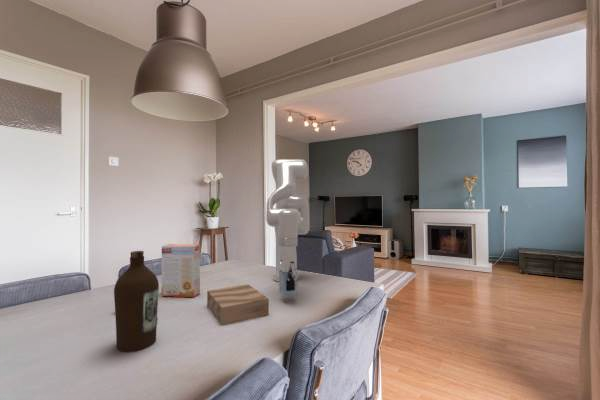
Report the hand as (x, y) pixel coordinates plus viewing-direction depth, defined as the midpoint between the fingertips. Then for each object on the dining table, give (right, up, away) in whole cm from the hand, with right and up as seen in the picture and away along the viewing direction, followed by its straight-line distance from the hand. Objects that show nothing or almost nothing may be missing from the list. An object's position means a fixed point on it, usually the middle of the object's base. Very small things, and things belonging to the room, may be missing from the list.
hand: (287, 287), depth 113 cm
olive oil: (-40, -5, -34) cm, 53 cm away
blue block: (0, -2, 0) cm, 2 cm away
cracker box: (-45, -5, +7) cm, 45 cm away
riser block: (-18, -5, -10) cm, 21 cm away
